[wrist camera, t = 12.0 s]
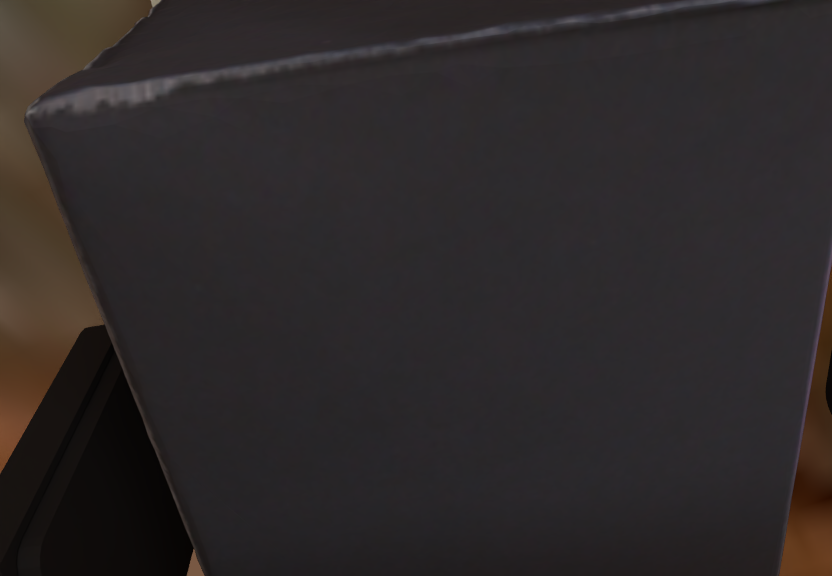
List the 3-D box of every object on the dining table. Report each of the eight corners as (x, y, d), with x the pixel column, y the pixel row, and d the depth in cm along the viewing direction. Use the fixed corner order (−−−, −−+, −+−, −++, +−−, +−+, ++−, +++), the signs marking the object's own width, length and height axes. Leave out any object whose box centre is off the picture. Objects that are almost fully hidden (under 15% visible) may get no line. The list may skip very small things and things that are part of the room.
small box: (593, 345, 20) (773, 805, 11) (331, 378, 20) (291, 857, 11) (586, -139, 14) (953, -28, 5) (223, -85, 14) (-44, 113, 5)
